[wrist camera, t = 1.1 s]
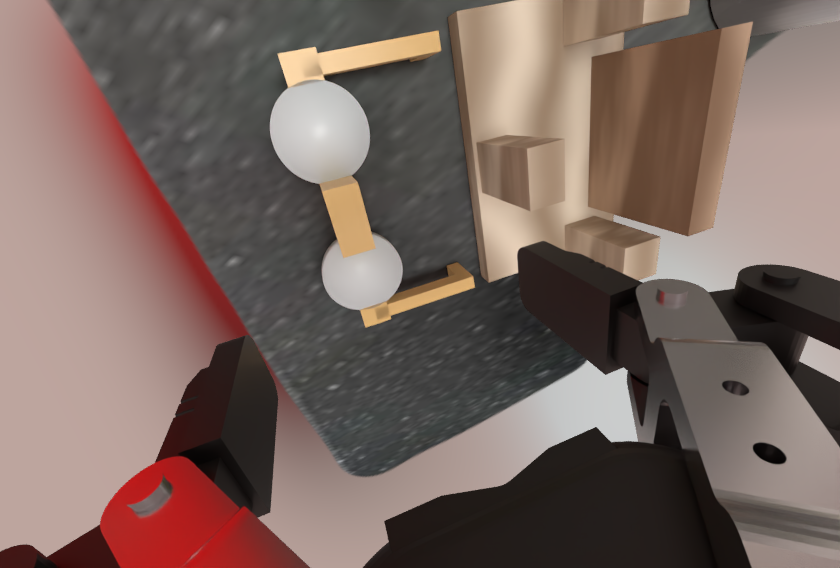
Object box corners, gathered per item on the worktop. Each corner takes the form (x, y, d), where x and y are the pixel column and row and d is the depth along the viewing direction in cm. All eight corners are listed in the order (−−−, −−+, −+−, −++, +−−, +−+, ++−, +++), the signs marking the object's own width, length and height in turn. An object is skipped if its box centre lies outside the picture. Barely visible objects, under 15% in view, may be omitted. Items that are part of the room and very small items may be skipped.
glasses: (420, 35, 23) (456, 10, 18) (459, 275, 31) (491, 306, 26) (249, 68, 21) (233, 51, 16) (338, 315, 29) (346, 357, 24)
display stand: (610, -13, 25) (785, -88, 16) (600, 236, 34) (710, 278, 25) (447, 17, 23) (544, -51, 14) (481, 275, 32) (554, 337, 23)
